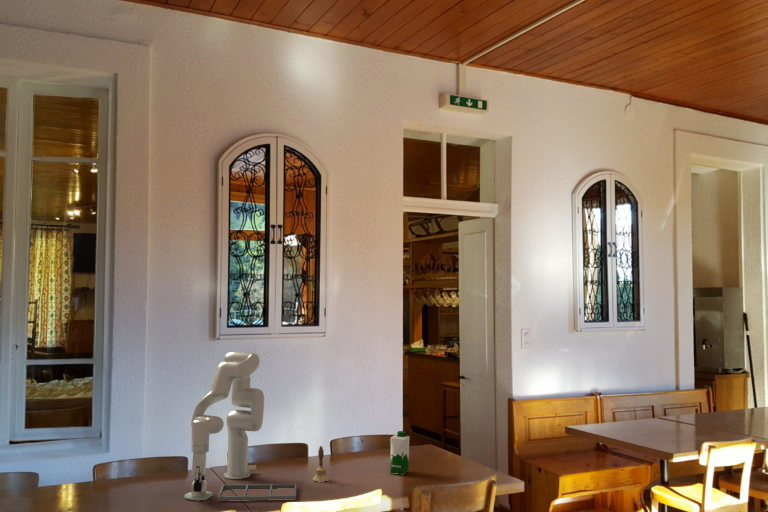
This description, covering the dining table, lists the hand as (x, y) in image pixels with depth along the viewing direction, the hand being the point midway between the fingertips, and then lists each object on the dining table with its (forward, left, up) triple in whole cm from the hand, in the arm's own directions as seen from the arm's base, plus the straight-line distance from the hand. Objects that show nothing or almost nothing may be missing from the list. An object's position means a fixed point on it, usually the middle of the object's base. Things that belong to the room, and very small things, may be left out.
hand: (199, 488), depth 305 cm
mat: (0, 0, -4) cm, 4 cm away
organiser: (-21, +15, -4) cm, 26 cm away
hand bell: (-57, +12, -4) cm, 58 cm away
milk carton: (-95, +26, -4) cm, 99 cm away
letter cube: (0, 0, -3) cm, 3 cm away
